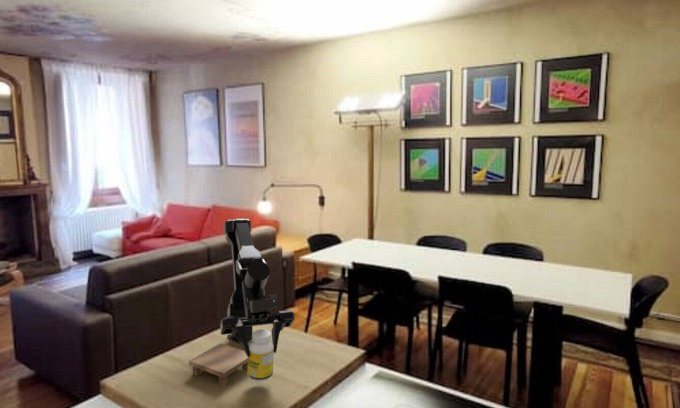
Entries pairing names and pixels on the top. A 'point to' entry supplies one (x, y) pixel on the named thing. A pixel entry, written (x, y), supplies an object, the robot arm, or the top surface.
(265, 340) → the pill bottle
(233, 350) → the small wooden stand
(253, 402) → the top surface
